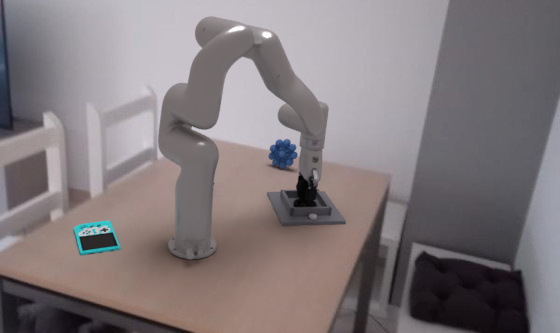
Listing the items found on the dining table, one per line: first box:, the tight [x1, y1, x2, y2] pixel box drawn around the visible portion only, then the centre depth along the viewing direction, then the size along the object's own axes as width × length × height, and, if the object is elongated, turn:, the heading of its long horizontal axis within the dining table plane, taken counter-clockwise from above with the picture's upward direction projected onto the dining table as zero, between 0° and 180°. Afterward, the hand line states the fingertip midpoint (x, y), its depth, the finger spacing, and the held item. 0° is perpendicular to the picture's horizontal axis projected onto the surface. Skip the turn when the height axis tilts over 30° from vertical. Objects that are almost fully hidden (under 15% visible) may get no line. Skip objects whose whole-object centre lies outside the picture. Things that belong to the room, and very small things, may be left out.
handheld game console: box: [73, 220, 121, 256], centre depth 143 cm, size 10×16×1 cm, turn 26°
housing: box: [266, 188, 347, 226], centre depth 171 cm, size 22×20×4 cm
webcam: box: [293, 177, 317, 207], centre depth 169 cm, size 8×8×10 cm
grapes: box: [268, 138, 298, 170], centre depth 201 cm, size 12×7×12 cm, turn 64°
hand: (306, 193), depth 170 cm, fingers open, 9 cm apart
